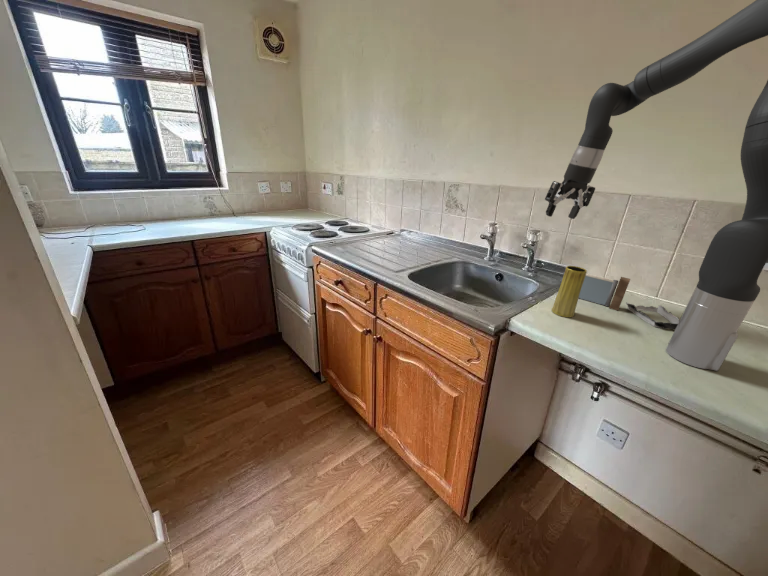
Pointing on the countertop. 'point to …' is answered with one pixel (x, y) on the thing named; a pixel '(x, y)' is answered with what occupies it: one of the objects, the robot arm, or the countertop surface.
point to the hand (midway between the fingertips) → (559, 217)
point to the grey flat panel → (598, 289)
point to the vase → (569, 291)
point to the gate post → (619, 293)
